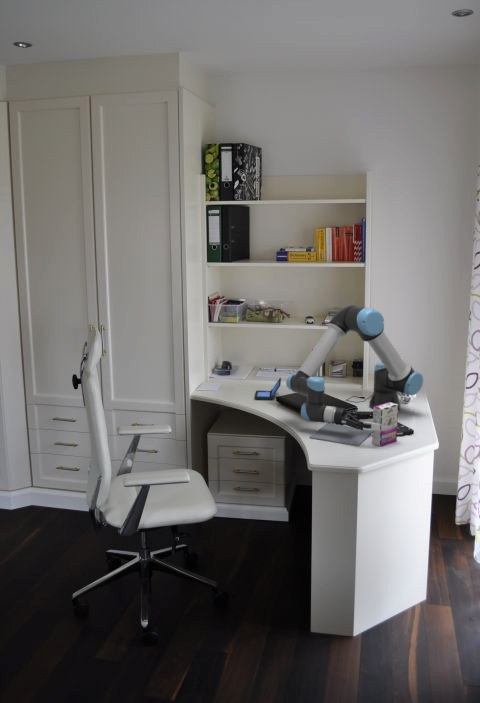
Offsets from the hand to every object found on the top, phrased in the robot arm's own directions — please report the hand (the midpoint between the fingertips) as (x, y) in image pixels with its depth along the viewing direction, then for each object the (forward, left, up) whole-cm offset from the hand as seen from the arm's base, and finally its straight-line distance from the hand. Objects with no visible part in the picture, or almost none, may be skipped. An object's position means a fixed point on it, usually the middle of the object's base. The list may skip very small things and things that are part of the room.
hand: (383, 422), depth 284 cm
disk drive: (-18, 0, -10) cm, 21 cm away
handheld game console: (-44, -74, -9) cm, 86 cm away
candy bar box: (0, 0, -9) cm, 9 cm away
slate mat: (-1, -19, -9) cm, 21 cm away
